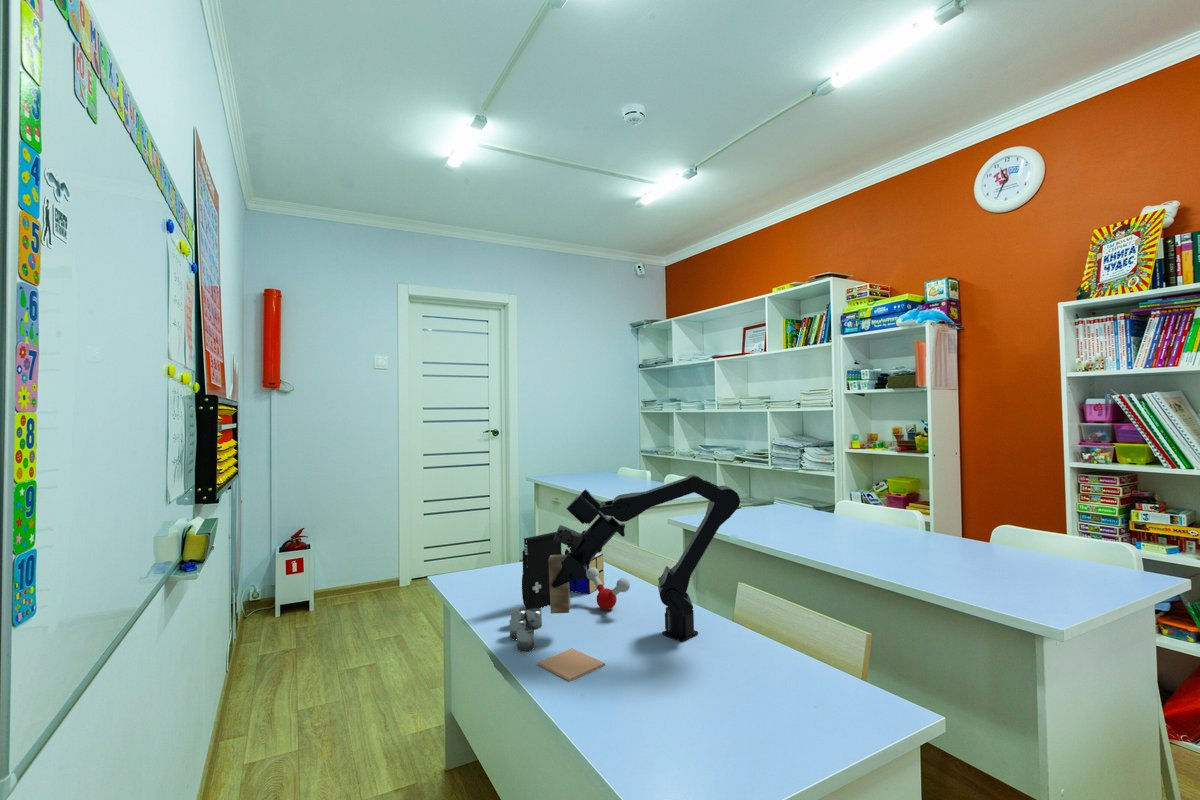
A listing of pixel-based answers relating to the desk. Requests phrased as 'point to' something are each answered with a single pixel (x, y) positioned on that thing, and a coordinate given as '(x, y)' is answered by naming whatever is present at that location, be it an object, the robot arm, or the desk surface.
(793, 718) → the desk surface
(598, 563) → the puzzle cube
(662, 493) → the robot arm
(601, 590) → the molecular model
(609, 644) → the desk surface
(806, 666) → the desk surface
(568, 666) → the rubber pad
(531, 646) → the metal spacers
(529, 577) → the handheld gaming console
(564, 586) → the walnut post
